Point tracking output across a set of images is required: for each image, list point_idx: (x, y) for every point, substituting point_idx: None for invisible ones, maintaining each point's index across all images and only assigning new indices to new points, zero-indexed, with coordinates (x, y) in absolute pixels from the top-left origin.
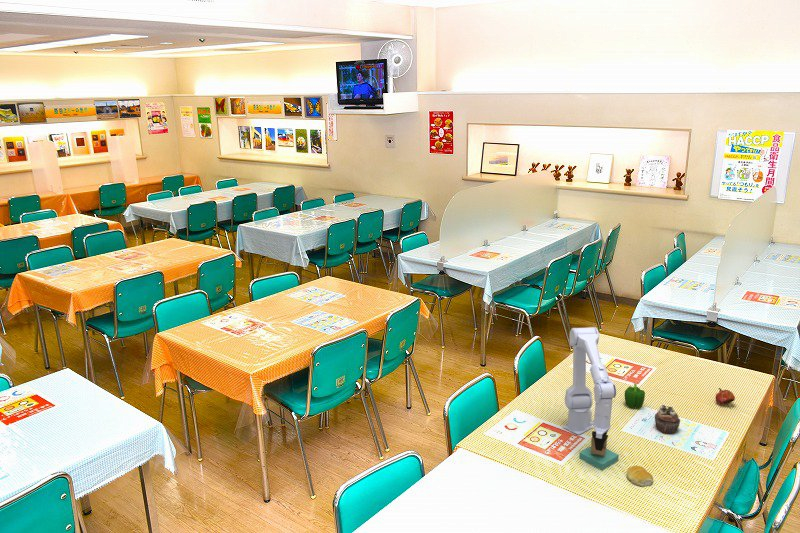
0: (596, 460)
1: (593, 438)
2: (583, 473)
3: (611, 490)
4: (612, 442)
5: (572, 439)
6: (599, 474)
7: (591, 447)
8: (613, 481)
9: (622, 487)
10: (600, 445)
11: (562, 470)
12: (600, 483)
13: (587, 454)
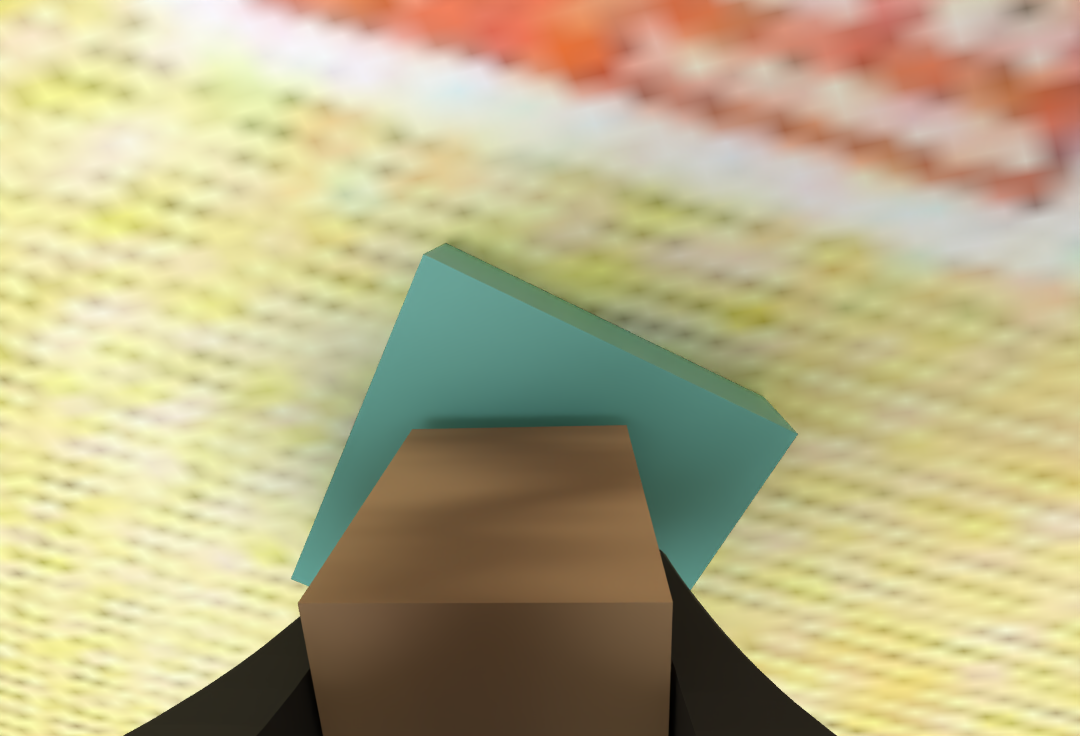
0: (336, 504)
1: (330, 645)
2: (147, 356)
3: (51, 637)
4: (1001, 556)
5: (947, 30)
6: (239, 512)
7: (381, 487)
8: (204, 638)
9: (162, 708)
10: None
11: (33, 89)
12: (89, 541)
13: (422, 374)
